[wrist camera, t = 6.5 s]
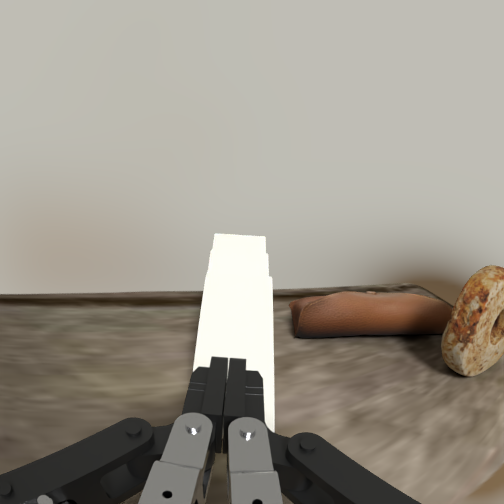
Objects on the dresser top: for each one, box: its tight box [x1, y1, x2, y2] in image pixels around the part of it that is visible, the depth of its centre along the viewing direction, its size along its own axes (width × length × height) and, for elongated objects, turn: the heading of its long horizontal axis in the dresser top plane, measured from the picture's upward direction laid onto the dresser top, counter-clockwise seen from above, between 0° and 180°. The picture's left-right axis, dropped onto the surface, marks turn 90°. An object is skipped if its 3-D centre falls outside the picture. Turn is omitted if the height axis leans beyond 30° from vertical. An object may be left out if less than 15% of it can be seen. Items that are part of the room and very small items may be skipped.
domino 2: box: [208, 250, 269, 277], centre depth 25 cm, size 2×5×12 cm
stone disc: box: [441, 265, 504, 377], centre depth 22 cm, size 10×4×10 cm, turn 103°
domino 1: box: [212, 233, 266, 254], centre depth 28 cm, size 2×5×12 cm
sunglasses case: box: [289, 291, 452, 338], centre depth 32 cm, size 18×7×7 cm
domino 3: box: [193, 273, 274, 439], centre depth 21 cm, size 2×5×12 cm
